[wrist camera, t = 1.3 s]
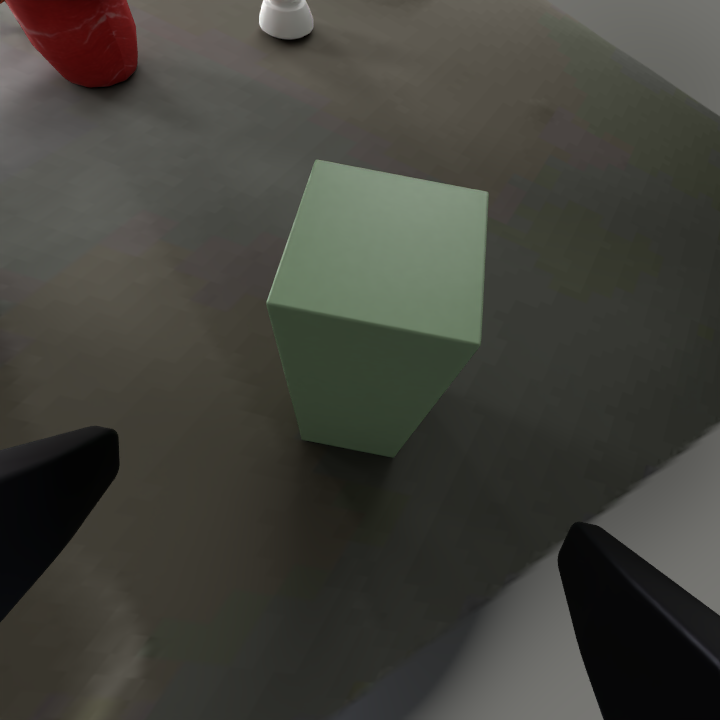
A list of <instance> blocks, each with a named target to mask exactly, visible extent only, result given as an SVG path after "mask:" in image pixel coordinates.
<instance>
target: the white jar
mask: <svg viewBox="0 0 720 720" xmlns="http://www.w3.org/2000/svg"><path fill="white" fill-rule="evenodd" d="M259 24H260V27H261V28H262V30H263V31H264V32H266V33H268V34H269V35H271V36H273V37H276V38H280V39H289V40H292V39H297V38H301V37H303V36H305V35H307V34H309V33H310V32H311V31H312V29H313V28H314V25H313V16H312V14H311V12H310V9H309V7H308V4H307V2H306V0H263V4H262V8H261V11H260V15H259Z"/></svg>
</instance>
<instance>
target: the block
mask: <svg viewBox="0 0 720 720" xmlns="http://www.w3.org/2000/svg"><path fill="white" fill-rule="evenodd" d="M487 215H488V192H485V191H480V190H474V189H469V188H464V187H459V186H453V185H448V184H443V183H437V182H432V181H427V180H422V179H416V178H411V177H406V176H401V175H395V174H390V173H385V172H380V171H374V170H369V169H364V168H359V167H353V166H348V165H343V164H338V163H332V162H327V161H322V160H315V162H314V165H313V168H312V171H311V174H310V177H309V180H308V183H307V186H306V189H305V192H304V194H303V197H302V200H301V203H300V206H299V209H298V212H297V215H296V218H295V221H294V224H293V226H292V229H291V232H290V235H289V238H288V241H287V244H286V247H285V250H284V253H283V256H282V258H281V261H280V264H279V267H278V270H277V273H276V276H275V279H274V282H273V285H272V288H271V291H270V293H269V296H268V299H267V302H266V304H267V308H268V312H269V316H270V320H271V324H272V327H273V331H274V335H275V339H276V343H277V346H278V350H279V354H280V358H281V362H282V366H283V369H284V373H285V377H286V381H287V385H288V388H289V392H290V396H291V400H292V404H293V407H294V411H295V415H296V419H297V423H298V426H299V430H300V434H301V438H302V440H306V441H311V442H316V443H321V444H326V445H332V446H337V447H342V448H347V449H352V450H357V451H362V452H367V453H372V454H377V455H382V456H387V457H392V458H394V457H395V455H396V454H397V453H398V452H399V450H400V449H401V448H402V446H403V445H404V444H405V443H406V441H407V440H408V439H409V437H410V436H411V435H412V434H413V432H414V431H415V430H416V428H417V427H418V426H419V424H420V423H421V422H422V421H423V419H424V418H425V417H426V415H427V414H428V413H429V412H430V410H431V409H432V408H433V406H434V405H435V404H436V402H437V401H438V400H439V399H440V397H441V396H442V395H443V393H444V392H445V391H446V390H447V388H448V387H449V386H450V384H451V383H452V382H453V381H454V379H455V378H456V377H457V375H458V374H459V373H460V371H461V370H462V369H463V368H464V366H465V365H466V364H467V362H468V361H469V360H470V359H471V357H472V356H473V355H474V353H475V352H476V351H477V349H478V348H479V347H480V345H481V333H482V314H483V294H484V274H485V254H486V234H487Z"/></svg>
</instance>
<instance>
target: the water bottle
mask: <svg viewBox="0 0 720 720" xmlns="http://www.w3.org/2000/svg"><path fill="white" fill-rule="evenodd" d="M5 1H6V3H7V5H8V6H9V8H10V10H11V11H12V13H13V14H14V16H15V18H16V19H17V21H18V22H19V24H20V26H21V27H22V29H23V31H24V32H25V34H26V35H27V37H28V39H29V40H30V42H31V43H32V45H33V46H34V47H35V48H36V49H37V50H38V51H39V52H40V53H41V54H42V55H43V56H44V57H45V59H46V60H47V61H48V62H49V63H50V64H51V65H52V66H53V67H54V68H55V69H56V70H57V71H58V72H59V73H60V74H61V75H62V76H63V77H64V78H65V79H67V80H68V81H70V82H71V83H74V84H78V85H82V86H85V87H105V86H111V85H114V84H116V83H119V82H122V81H124V80H126V79H127V78H128V77H129V76H130V75H131V74H132V73H133V72H134V71H135V70H136V68H137V58H138V51H137V37H136V26H135V23H134V20H133V17H132V14H131V12H130V9H129V6H128V3H127V0H5Z"/></svg>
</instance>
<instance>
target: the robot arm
mask: <svg viewBox="0 0 720 720" xmlns="http://www.w3.org/2000/svg"><path fill="white" fill-rule="evenodd" d="M118 470H119V439H118V434H117V432H116V431H115V430H114V429H110V428H105V427H100V426H90V427H86V428H83V429H79V430H75V431H71V432H67V433H64V434H60V435H56V436H52V437H49V438H45V439H41V440H37V441H34V442H30V443H26V444H22V445H19V446H15V447H11V448H7V449H3V450H0V622H1V621H2V620H3V619H4V618H5V616H6V615H7V614H8V613H9V612H10V611H11V610H12V608H13V607H14V606H15V605H16V604H17V603H18V601H19V600H20V599H21V598H22V597H23V596H24V595H25V593H26V592H27V591H28V590H29V589H30V588H31V586H32V585H33V584H34V583H35V582H36V581H37V579H38V578H39V577H40V576H41V575H42V574H43V573H44V571H45V570H46V569H47V568H48V567H49V566H50V564H51V563H52V562H53V561H54V560H55V559H56V557H57V556H58V555H59V554H60V553H61V551H62V550H63V549H64V548H65V546H66V545H67V544H68V542H69V541H70V540H71V538H72V537H73V536H74V534H75V533H76V532H77V530H78V529H79V527H80V526H81V525H82V523H83V522H84V521H85V519H86V518H87V516H88V515H89V514H90V512H91V511H92V509H93V508H94V507H95V505H96V504H97V502H98V501H99V500H100V498H101V497H102V495H103V494H104V493H105V491H106V490H107V488H108V487H109V486H110V484H111V483H112V482H113V480H114V479H115V477H116V475H117V473H118ZM558 568H559V572H560V576H561V580H562V584H563V588H564V592H565V595H566V599H567V603H568V607H569V611H570V615H571V619H572V623H573V627H574V631H575V635H576V639H577V642H578V645H579V649H580V653H581V655H582V659H583V662H584V665H585V668H586V671H587V674H588V676H589V679H590V682H591V685H592V687H593V691H594V693H595V696H596V699H597V702H598V705H599V708H600V711H601V714H602V716H603V719H604V720H720V616H719V615H718V614H717V613H715V612H714V611H713V610H711V609H710V608H709V607H707V606H706V605H704V604H703V603H702V602H701V601H699V600H698V599H697V598H695V597H694V596H692V595H691V594H690V593H688V592H687V591H686V590H684V589H683V588H682V587H680V586H679V585H678V584H676V583H675V582H674V581H672V580H671V579H670V578H668V577H667V576H665V575H664V574H663V573H661V572H660V571H659V570H657V569H656V568H655V567H653V566H652V565H651V564H649V563H648V562H647V561H645V560H644V559H643V558H641V557H640V556H638V555H637V554H636V553H635V552H633V551H632V550H630V549H629V548H628V547H626V546H625V545H624V544H623V543H621V542H620V541H618V540H617V539H616V538H614V537H613V536H612V535H610V534H609V533H608V532H606V531H605V530H604V529H602V528H601V527H599V526H597V525H593V524H588V523H583V522H576V523H574V524H573V525H572V526H571V528H570V530H569V532H568V534H567V536H566V538H565V540H564V543H563V545H562V547H561V549H560V551H559V554H558Z"/></svg>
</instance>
